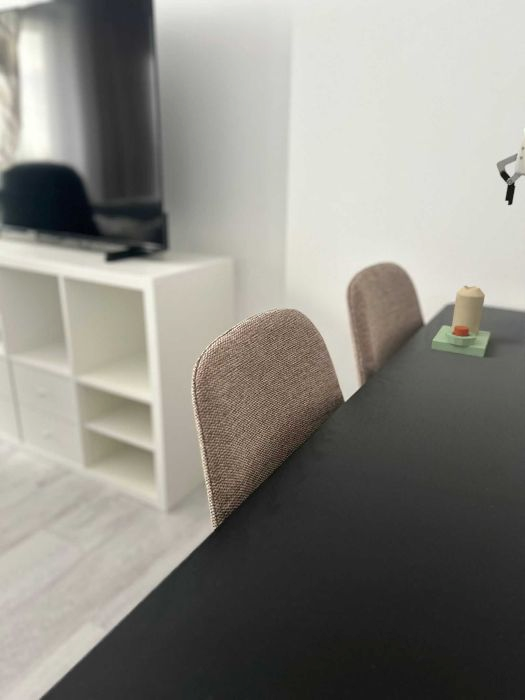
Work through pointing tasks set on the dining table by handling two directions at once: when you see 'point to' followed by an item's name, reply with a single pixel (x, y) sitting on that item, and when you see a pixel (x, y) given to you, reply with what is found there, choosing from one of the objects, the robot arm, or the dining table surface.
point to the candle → (468, 308)
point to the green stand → (461, 342)
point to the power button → (461, 331)
